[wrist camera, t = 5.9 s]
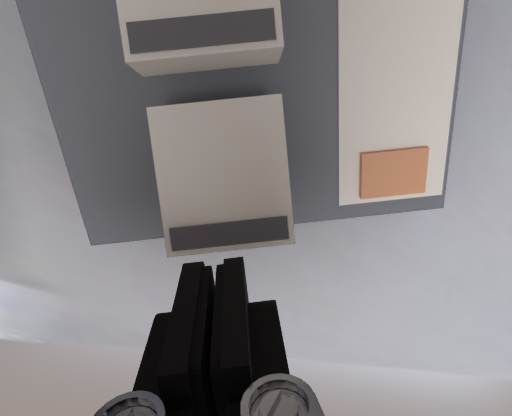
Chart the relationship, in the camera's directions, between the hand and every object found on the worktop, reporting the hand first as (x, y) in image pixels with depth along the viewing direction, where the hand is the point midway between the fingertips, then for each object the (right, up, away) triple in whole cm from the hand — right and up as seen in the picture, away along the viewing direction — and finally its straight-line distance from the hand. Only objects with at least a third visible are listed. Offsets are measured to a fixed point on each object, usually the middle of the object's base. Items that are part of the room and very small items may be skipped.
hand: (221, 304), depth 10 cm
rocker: (0, +4, +3) cm, 5 cm away
